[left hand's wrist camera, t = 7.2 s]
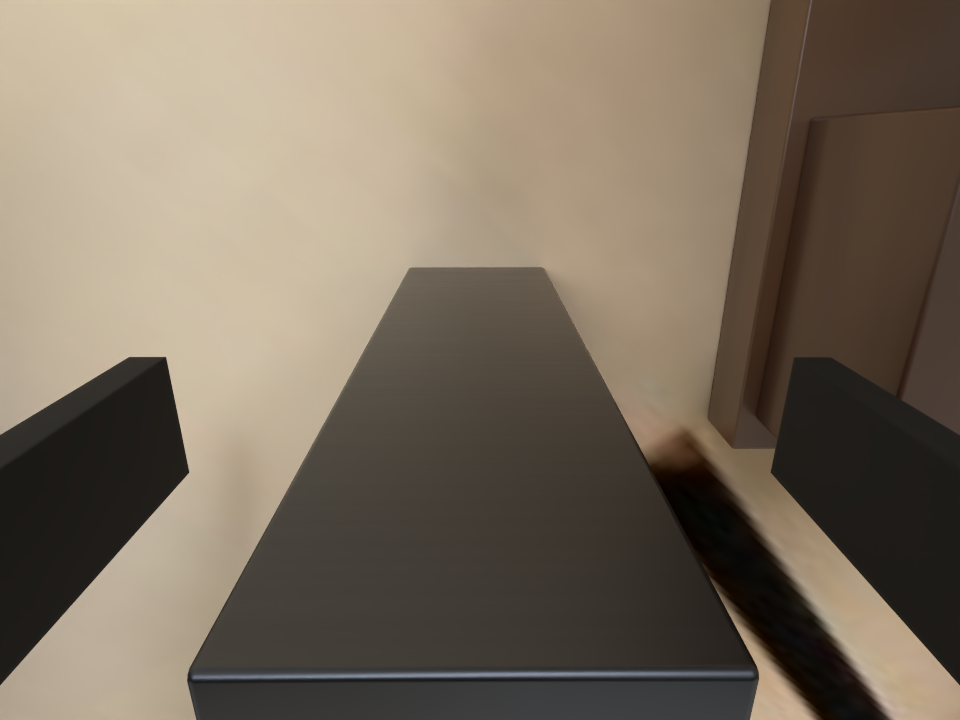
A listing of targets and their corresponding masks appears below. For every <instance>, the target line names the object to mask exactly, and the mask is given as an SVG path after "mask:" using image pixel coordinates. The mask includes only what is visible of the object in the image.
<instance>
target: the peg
mask: <svg viewBox="0 0 960 720" xmlns="http://www.w3.org/2000/svg"><path fill="white" fill-rule="evenodd" d="M758 681H759V672H758V669H757V666H756V664H755V662H754V660H753V658H752V657H751V655H750V653H749V651H748V649H747V647H746V645H745V644H744V642H743V640H742V638H741V636H740V634H739V632H738V630H737V629H736V627H735V625H734V623H733V621H732V619H731V617H730V616H729V614H728V612H727V610H726V608H725V606H724V604H723V602H722V601H721V599H720V597H719V595H718V593H717V591H716V589H715V587H714V586H713V584H712V582H711V580H710V578H709V576H708V574H707V573H706V571H705V569H704V567H703V565H702V563H701V561H700V559H699V558H698V556H697V554H696V552H695V550H694V548H693V546H692V545H691V543H690V541H689V539H688V537H687V535H686V533H685V531H684V530H683V528H682V526H681V524H680V522H679V520H678V518H677V516H676V515H675V513H674V511H673V509H672V507H671V505H670V503H669V502H668V500H667V498H666V496H665V494H664V492H663V490H662V488H661V487H660V485H659V483H658V481H657V479H656V477H655V475H654V474H653V472H652V470H651V468H650V466H649V464H648V462H647V460H646V459H645V457H644V455H643V453H642V451H641V449H640V447H639V446H638V444H637V442H636V440H635V438H634V436H633V434H632V432H631V431H630V429H629V427H628V425H627V423H626V421H625V419H624V417H623V416H622V414H621V412H620V410H619V408H618V406H617V404H616V403H615V401H614V399H613V397H612V395H611V393H610V391H609V389H608V388H607V386H606V384H605V382H604V380H603V378H602V376H601V375H600V373H599V371H598V369H597V367H596V365H595V363H594V361H593V360H592V358H591V356H590V354H589V352H588V350H587V348H586V346H585V345H584V343H583V341H582V339H581V337H580V335H579V333H578V332H577V330H576V328H575V326H574V324H573V322H572V320H571V318H570V317H569V315H568V313H567V311H566V309H565V307H564V305H563V304H562V302H561V300H560V298H559V296H558V294H557V292H556V290H555V289H554V287H553V285H552V283H551V281H550V279H549V277H548V276H547V274H546V272H545V270H544V268H409V270H408V272H407V274H406V275H405V277H404V279H403V281H402V283H401V285H400V286H399V288H398V290H397V292H396V294H395V296H394V297H393V299H392V301H391V303H390V305H389V306H388V308H387V310H386V312H385V314H384V316H383V317H382V319H381V321H380V323H379V325H378V326H377V328H376V330H375V332H374V334H373V336H372V337H371V339H370V341H369V343H368V345H367V346H366V348H365V350H364V352H363V354H362V356H361V357H360V359H359V361H358V363H357V365H356V366H355V368H354V370H353V372H352V374H351V376H350V377H349V379H348V381H347V383H346V385H345V386H344V388H343V390H342V392H341V394H340V396H339V397H338V399H337V401H336V403H335V405H334V406H333V408H332V410H331V412H330V414H329V416H328V417H327V419H326V421H325V423H324V425H323V427H322V428H321V430H320V432H319V434H318V436H317V437H316V439H315V441H314V443H313V445H312V447H311V448H310V450H309V452H308V454H307V456H306V457H305V459H304V461H303V463H302V465H301V467H300V468H299V470H298V472H297V474H296V476H295V477H294V479H293V481H292V483H291V485H290V487H289V488H288V490H287V492H286V494H285V496H284V497H283V499H282V501H281V503H280V505H279V507H278V508H277V510H276V512H275V514H274V516H273V517H272V519H271V521H270V523H269V525H268V527H267V528H266V530H265V532H264V534H263V536H262V537H261V539H260V541H259V543H258V545H257V547H256V548H255V550H254V552H253V554H252V556H251V557H250V559H249V561H248V563H247V565H246V567H245V568H244V570H243V572H242V574H241V576H240V578H239V579H238V581H237V583H236V585H235V587H234V588H233V590H232V592H231V594H230V596H229V598H228V599H227V601H226V603H225V605H224V607H223V608H222V610H221V612H220V614H219V616H218V618H217V619H216V621H215V623H214V625H213V627H212V628H211V630H210V632H209V634H208V636H207V638H206V639H205V641H204V643H203V645H202V647H201V648H200V650H199V652H198V654H197V656H196V658H195V659H194V661H193V663H192V665H191V667H190V669H189V672H188V679H187V682H188V686H189V690H190V694H191V699H192V703H193V707H194V711H195V715H196V720H750V716H751V712H752V707H753V703H754V698H755V694H756V690H757V685H758Z"/></svg>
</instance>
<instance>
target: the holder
mask: <svg viewBox="0 0 960 720" xmlns="http://www.w3.org/2000/svg"><path fill="white" fill-rule="evenodd" d="M794 357H831V358H833V359H835V360H836V361H838V362H840V363H841V364H843V365H845V366H846V367H848V368H849V369H851V370H853V371H854V372H856V373H858V374H859V375H861V376H863V377H864V378H866V379H868V380H869V381H871V382H873V383H874V384H876V385H878V386H879V387H881V388H883V389H884V390H886V391H888V392H889V393H891V394H893V395H894V396H896V397H897V398H899V399H901V400H902V401H904V402H906V403H907V404H909V405H911V406H912V407H914V408H916V409H917V410H919V411H921V412H922V413H924V414H926V415H927V416H929V417H931V418H932V419H934V420H936V421H937V422H939V423H940V424H942V425H944V426H945V427H947V428H949V429H950V430H952V431H954V432H955V433H957V434H959V435H960V0H772V2H771V8H770V15H769V21H768V28H767V34H766V41H765V47H764V54H763V61H762V67H761V74H760V80H759V87H758V93H757V100H756V106H755V113H754V119H753V126H752V132H751V139H750V146H749V152H748V159H747V165H746V172H745V178H744V185H743V191H742V198H741V204H740V211H739V218H738V224H737V231H736V237H735V244H734V250H733V257H732V263H731V270H730V276H729V283H728V289H727V296H726V303H725V309H724V316H723V322H722V329H721V335H720V342H719V348H718V355H717V361H716V368H715V375H714V381H713V388H712V394H711V401H710V407H709V414H708V420H709V421H710V422H711V423H712V425H713V426H714V427H715V428H716V429H717V431H718V432H719V433H720V434H721V435H722V437H723V438H724V439H725V440H726V441H727V443H728V444H729V445H730V446H731V447H732V448H734V449H776V444H777V439H778V434H779V429H780V424H781V419H782V414H783V409H784V405H785V400H786V395H787V390H788V385H789V380H790V375H791V370H792V365H793V360H794Z"/></svg>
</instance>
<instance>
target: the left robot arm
mask: <svg viewBox="0 0 960 720" xmlns="http://www.w3.org/2000/svg"><path fill="white" fill-rule="evenodd" d="M188 473H189V469H188V464H187V459H186V454H185V449H184V444H183V439H182V434H181V429H180V424H179V419H178V414H177V409H176V404H175V399H174V394H173V390H172V385H171V380H170V375H169V370H168V365H167V360H166V357H129V358H127V359H125V360H124V361H122V362H120V363H119V364H117V365H116V366H114V367H112V368H111V369H109V370H107V371H106V372H104V373H102V374H101V375H99V376H97V377H96V378H94V379H92V380H91V381H89V382H87V383H86V384H84V385H82V386H81V387H79V388H77V389H76V390H74V391H72V392H71V393H69V394H68V395H66V396H64V397H63V398H61V399H59V400H58V401H56V402H54V403H53V404H51V405H49V406H48V407H46V408H44V409H43V410H41V411H39V412H38V413H36V414H34V415H33V416H31V417H29V418H28V419H26V420H25V421H23V422H21V423H20V424H18V425H16V426H15V427H13V428H11V429H10V430H8V431H6V432H5V433H3V434H1V435H0V685H1V684H2V683H3V681H4V680H5V679H6V678H7V677H8V676H9V675H10V674H11V672H12V671H13V670H14V669H15V668H16V667H17V666H18V665H19V663H20V662H21V661H22V660H23V659H24V658H25V657H26V656H27V654H28V653H29V652H30V651H31V650H32V649H33V648H34V647H35V645H36V644H37V643H38V642H39V641H40V640H41V639H42V638H43V636H44V635H45V634H46V633H47V632H48V631H49V630H50V629H51V627H52V626H53V625H54V624H55V623H56V622H57V621H58V620H59V618H60V617H61V616H62V615H63V614H64V613H65V612H66V611H67V609H68V608H69V607H70V606H71V605H72V604H73V603H74V602H75V600H76V599H77V598H78V597H79V596H80V595H81V594H82V593H83V591H84V590H85V589H86V588H87V587H88V586H89V585H90V584H91V582H92V581H93V580H94V579H95V578H96V577H97V576H98V575H99V573H100V572H101V571H102V570H103V569H104V568H105V567H106V566H107V564H108V563H109V562H110V561H111V560H112V559H113V558H114V557H115V555H116V554H117V553H118V552H119V551H120V550H121V549H122V548H123V546H124V545H125V544H126V543H127V542H128V541H129V540H130V539H131V537H132V536H133V535H134V534H135V533H136V532H137V531H138V530H139V528H140V527H141V526H142V525H143V524H144V523H145V522H146V521H147V519H148V518H149V517H150V516H151V515H152V514H153V513H154V512H155V510H156V509H157V508H158V507H159V506H160V505H161V504H162V503H163V501H164V500H165V499H166V498H167V497H168V496H169V495H170V494H171V492H172V491H173V490H174V489H175V488H176V487H177V486H178V485H179V483H180V482H181V481H182V480H183V479H184V478H185V477H186V476H187V474H188ZM771 473H772V474H773V475H774V477H775V478H776V479H777V480H778V481H779V482H780V483H781V484H782V486H783V487H784V488H785V489H786V490H787V491H788V492H789V493H790V495H791V496H792V497H793V498H794V499H795V500H796V501H797V502H798V504H799V505H800V506H801V507H802V508H803V509H804V510H805V511H806V513H807V514H808V515H809V516H810V517H811V518H812V519H813V520H814V522H815V523H816V524H817V525H818V526H819V527H820V528H821V529H822V531H823V532H824V533H825V534H826V535H827V536H828V537H829V538H830V540H831V541H832V542H833V543H834V544H835V545H836V546H837V547H838V549H839V550H840V551H841V552H842V553H843V554H844V555H845V556H846V558H847V559H848V560H849V561H850V562H851V563H852V564H853V566H854V567H855V568H856V569H857V570H858V571H859V572H860V573H861V575H862V576H863V577H864V578H865V579H866V580H867V581H868V582H869V584H870V585H871V586H872V587H873V588H874V589H875V590H876V591H877V593H878V594H879V595H880V596H881V597H882V598H883V599H884V600H885V602H886V603H887V604H888V605H889V606H890V607H891V608H892V609H893V611H894V612H895V613H896V614H897V615H898V616H899V617H900V618H901V620H902V621H903V622H904V623H905V624H906V625H907V626H908V627H909V629H910V630H911V631H912V632H913V633H914V634H915V635H916V636H917V638H918V639H919V640H920V641H921V642H922V643H923V644H924V645H925V647H926V648H927V649H928V650H929V651H930V652H931V653H932V654H933V656H934V657H935V658H936V659H937V660H938V661H939V662H940V663H941V665H942V666H943V667H944V668H945V669H946V670H947V671H948V672H949V674H950V675H951V676H952V677H953V678H954V679H955V680H956V681H957V683H958V684H959V685H960V435H959V434H957V433H955V432H954V431H952V430H950V429H949V428H947V427H945V426H944V425H942V424H940V423H939V422H937V421H936V420H934V419H932V418H931V417H929V416H927V415H926V414H924V413H922V412H921V411H919V410H917V409H916V408H914V407H912V406H911V405H909V404H907V403H906V402H904V401H902V400H901V399H899V398H897V397H896V396H894V395H893V394H891V393H889V392H888V391H886V390H884V389H883V388H881V387H879V386H878V385H876V384H874V383H873V382H871V381H869V380H868V379H866V378H864V377H863V376H861V375H859V374H858V373H856V372H854V371H853V370H851V369H849V368H848V367H846V366H845V365H843V364H841V363H840V362H838V361H836V360H835V359H833V358H831V357H794V360H793V365H792V370H791V375H790V380H789V385H788V390H787V395H786V400H785V405H784V409H783V414H782V419H781V424H780V429H779V434H778V439H777V444H776V449H775V454H774V459H773V464H772V469H771Z"/></svg>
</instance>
